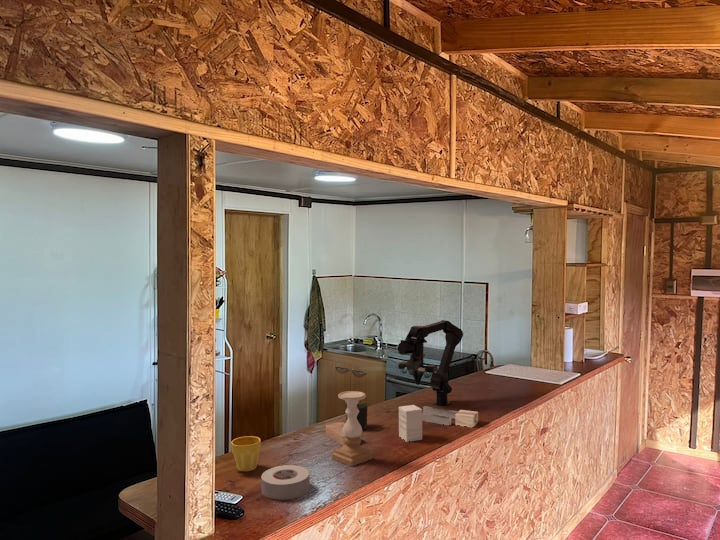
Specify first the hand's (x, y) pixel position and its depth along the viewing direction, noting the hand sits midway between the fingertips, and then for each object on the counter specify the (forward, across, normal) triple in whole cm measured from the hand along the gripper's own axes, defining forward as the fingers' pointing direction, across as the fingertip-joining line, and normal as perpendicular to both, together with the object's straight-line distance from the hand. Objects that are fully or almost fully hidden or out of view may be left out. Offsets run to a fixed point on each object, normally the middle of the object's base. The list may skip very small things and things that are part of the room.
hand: (417, 384), depth 265 cm
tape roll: (+13, +4, -103) cm, 104 cm away
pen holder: (+12, -10, -39) cm, 42 cm away
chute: (+12, +14, -9) cm, 20 cm away
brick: (+13, -7, -54) cm, 56 cm away
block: (+12, +28, -9) cm, 32 cm away
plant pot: (+12, -19, -97) cm, 100 cm away
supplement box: (+12, +16, -39) cm, 44 cm away
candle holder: (+12, +8, -70) cm, 71 cm away
